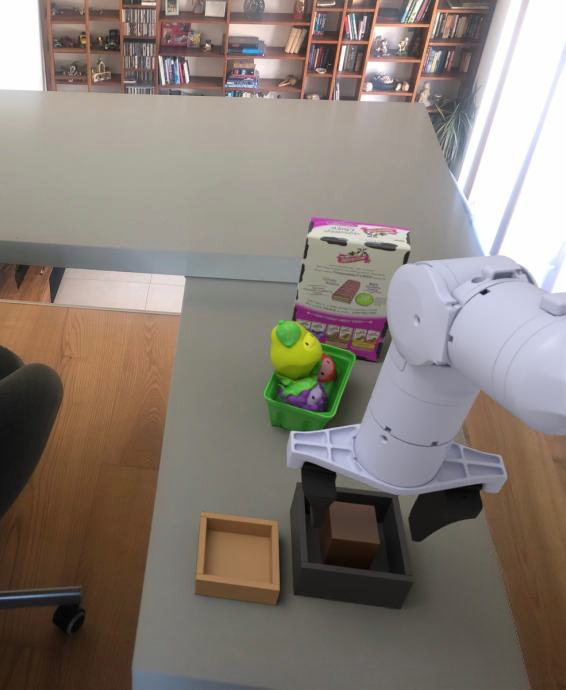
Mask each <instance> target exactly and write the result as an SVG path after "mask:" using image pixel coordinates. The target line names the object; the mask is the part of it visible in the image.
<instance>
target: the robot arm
mask: <svg viewBox="0 0 566 690" xmlns="http://www.w3.org/2000/svg"><path fill="white" fill-rule="evenodd" d="M387 320H388V330H389V334H390V336H391V342H390V344H389V347H388V350H387V351H386V352H387V353H386V355H385V358H384V360H383V363H382V366H381V367H380V370H379V374H378V376H377V379H376V382H375V385H374V388H373V389H372V393H371V395H370V398H369V400H368V403H367V406H366V409H365V412H364V414H363V417H362V420H361V421H360V423H356V424H355V423H354V424H349V425H344V426H338V427H331V428H325V429H324V428H323V429H322V430H318V431H309V432H300V431H290V432H289V437H288V441H287V443H286V466H287V468H288V469H296V470H300V478H301V481H300V482H301V483H302V489H303V493H304V496H305V497H306V498H307V500H308V501H309V503H310V518H311V527H312V528H318V529H320V528H321V527H322V525H323V523H324V519H325V515H326V512H327V510H328V509H329V507H330V506H331V504H332V503H333V502H334V501H336V500H337V494H336V487H337V484H336V480H337V477H338V476H337V474H339V475H341V476H344V477H346V478H349V479H352V480H354V481H357V482H359V483H362V484H364V485H367V486H369V487H371V488H374V489H376V490H379V491H380V492H387V493H390V494H395V495H398V496H403V497H404V496H406V497H407V496H416V495H418V496H417V498H416V499H415V501H414V503H413V505H412V507H411V509H410V512H409V515H408V517H407V518H408V519H407V520H408V525H409V533H410V538H411V541H412V542H416V543H421V542H423V541H424V540H425V539H427V538H428V537H430V536H431V535H433V534H434V533H436V532H438V531H440V530H441V529H443V528H445V527H446V526H449V525H451V524H454V523H458V522H461V521H467V520H473V519H477V518H478V517H479V515H480V514H481V512H482V511H483V509H484V503H483V499H482V495H481V491H483V492H485V493H491V494H499V492H500V491H501V489H502V488H503V486H504V485H505V483H506V481H507V480H508V473H507V471H506V467H505V463H504V460H503V456H502V455H501V454H495V453H489V452H485V451H482V450H479V449H474V448H471V447H468V446H465V445H463V444H461V443H457V442H455V440H456V438H457V436H458V434H459V432H460V430H461V429H462V426H463V424H464V423H465V420H466V418H467V416H469V413H470V411H471V410H472V407H473V405H474V404H475V401H476V399H477V398H478V396H479V394H480V392H481V391H482V392H483V393H485V394H486V395H487V396H488V397H490V398H491V399H492V400H493V401H495V402H496V403H497V404H499V406H501V407H502V408H504V409H505V410H506V411H508V412H509V413H510V414H512V415H513V416H514V417H515V418H516V419H518V420H519V421H521V422H522V423H523V424H524V425H525V426H527V427H528V428H529V429H530V430H533V431H535V432H538V433H540V434H544V435H548V436H566V291H563V292H549V291H547V290H545V289H543V288H541V287H539V285H538V282H537V280H536V278H535V277H534V275H533V274H532V273H531V271H529V269H528V268H527V267H526V266H523V265H522V264H520V263H518V262H516V260H514V259H512V258H511V257H508V256H506V255H503V254H496V255H494V254H493V255H483V256H482V255H481V256H470V257H457V258H456V257H455V258H446V259H445V258H444V259H432V260H421V261H417V262H414V263H407V264H405V265H402V266H401V267H400V268H398V270H397V271H396V272H395V273H394V275H393V277H392V279H391V282H390V285H389V289H388V294H387Z"/></svg>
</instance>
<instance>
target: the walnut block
mask: <svg viewBox="0 0 566 690" xmlns="http://www.w3.org/2000/svg"><path fill="white" fill-rule="evenodd" d="M319 538H320V551H321V564H324V565H332V566H339V567H347V568H355V569H362V570H369V569H370V567H371V564H372V562H373V560H374V557H375V555H376V552H377V550H378V547H379V545H380V540H379V534H378V527H377V521H376V514H375V508H374V506H369V505H361V504H352V503H344V502H336V501H334V502H333V503H332V504H331V506H330V507H329V509H328V510H327V512H326V515H325V519H324V523H323V525H322V527H321V528H320V531H319Z"/></svg>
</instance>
